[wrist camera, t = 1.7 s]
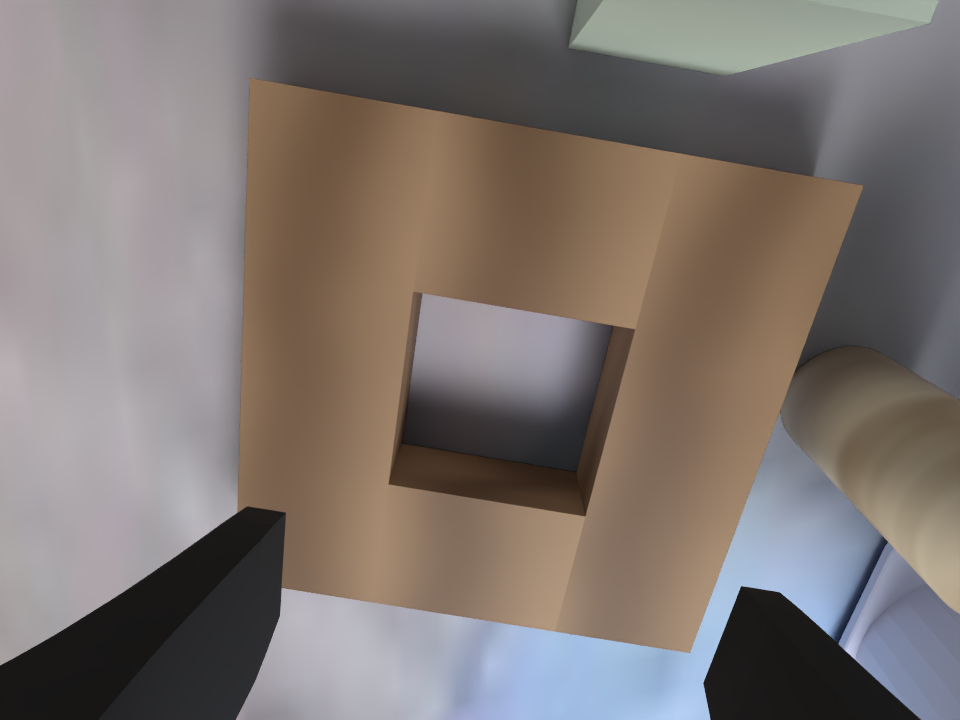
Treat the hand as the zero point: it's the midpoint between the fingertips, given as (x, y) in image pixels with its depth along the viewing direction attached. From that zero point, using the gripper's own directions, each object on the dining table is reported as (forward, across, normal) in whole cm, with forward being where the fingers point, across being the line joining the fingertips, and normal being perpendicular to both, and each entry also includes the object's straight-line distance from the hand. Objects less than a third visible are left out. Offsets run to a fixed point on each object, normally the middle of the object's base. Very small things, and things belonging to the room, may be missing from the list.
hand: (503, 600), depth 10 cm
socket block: (+9, 0, 0) cm, 9 cm away
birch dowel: (+9, -10, -1) cm, 14 cm away
